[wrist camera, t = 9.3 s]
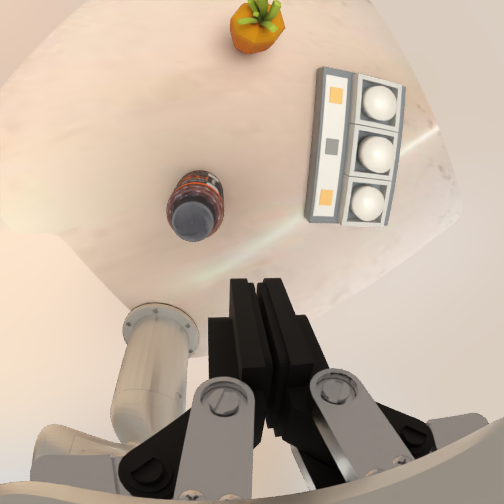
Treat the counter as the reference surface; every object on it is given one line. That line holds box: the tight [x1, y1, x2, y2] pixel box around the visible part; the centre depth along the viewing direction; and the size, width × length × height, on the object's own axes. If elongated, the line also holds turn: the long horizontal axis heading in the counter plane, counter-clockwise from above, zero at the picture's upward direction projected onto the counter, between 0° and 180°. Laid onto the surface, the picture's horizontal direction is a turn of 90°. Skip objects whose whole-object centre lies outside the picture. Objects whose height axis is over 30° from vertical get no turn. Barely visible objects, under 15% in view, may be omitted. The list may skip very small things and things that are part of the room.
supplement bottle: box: [167, 171, 224, 242], centre depth 32 cm, size 6×6×11 cm
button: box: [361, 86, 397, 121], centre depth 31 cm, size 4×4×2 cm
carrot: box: [230, 0, 285, 54], centre depth 23 cm, size 5×5×15 cm
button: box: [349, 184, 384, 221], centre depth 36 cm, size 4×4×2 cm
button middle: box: [358, 136, 396, 173], centre depth 33 cm, size 4×4×2 cm
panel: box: [304, 67, 406, 227], centre depth 35 cm, size 20×12×4 cm, turn 177°
